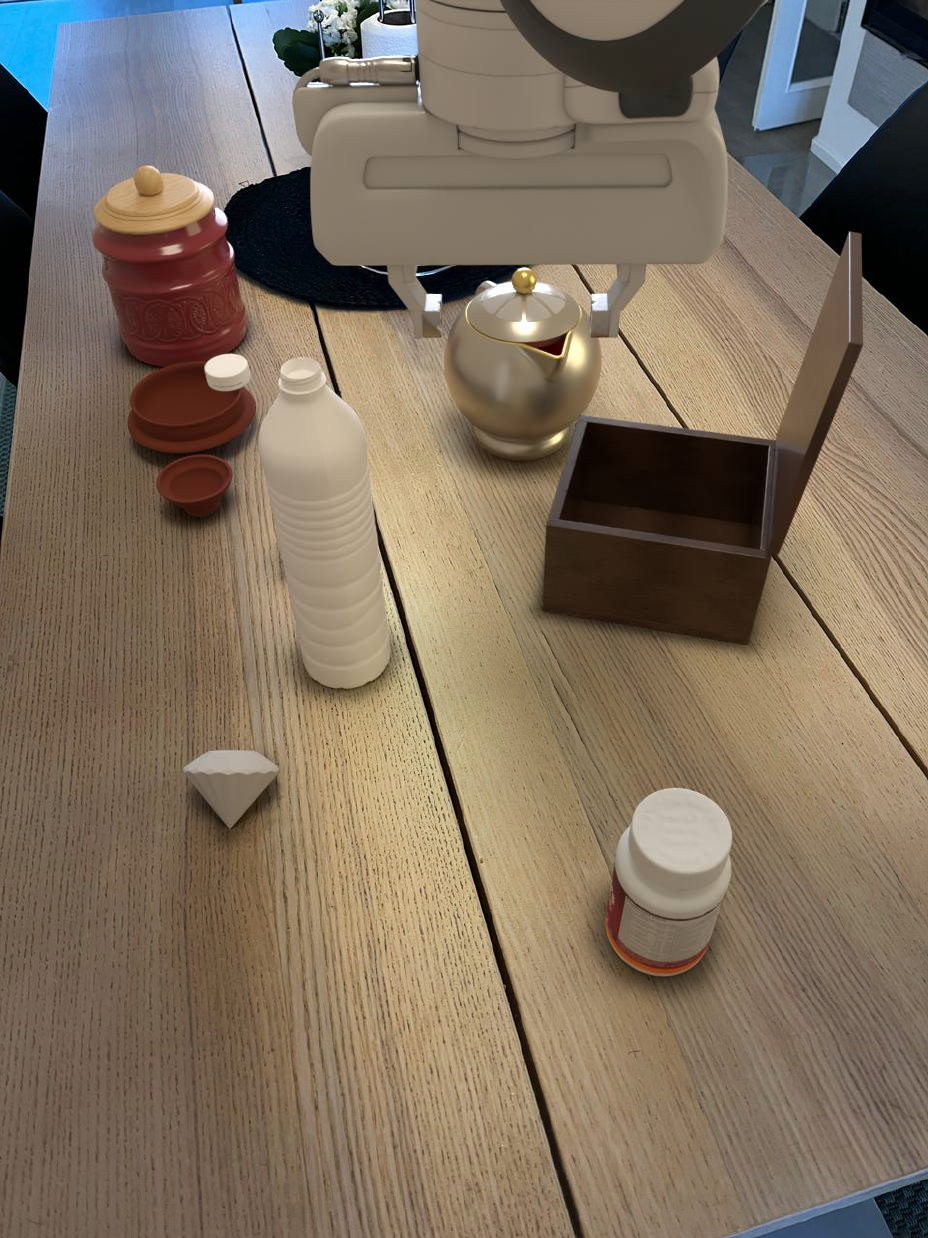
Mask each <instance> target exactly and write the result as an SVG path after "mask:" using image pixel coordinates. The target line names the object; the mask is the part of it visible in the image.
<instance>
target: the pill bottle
mask: <svg viewBox="0 0 928 1238" xmlns="http://www.w3.org/2000/svg"><path fill="white" fill-rule="evenodd" d="M732 844H733V832H732V826H731V824H730V821H729V819H728V817H727V815H726V813H725V812H724V811H723V810H722V808H721V807H720V806H719V805H718V804H717V803H716V802H715V801H714V800H712V799H711V798H709V797H708V796H707V795H704V794H703V793H701V792H698V791H696V790H692V789H689V788H682V787H671V788H670V787H669V788H664V789H660V790H657V791H655V792H653V793H649V795H647V796H646V797H645V798H643V799H642V800H641V801H640V803H639V804H638V805H637V807H636V808H635V811H634V812H633V814H632V819H631V823H630V824H629V826H627V828H626V829H625V830H624V832H623V833H622V835H621V836H620V839H619V841H618V844H617V846H616V851H615V855H614V861H613V862H614V864H613V871H612V876H611V880H610V881H611V883H610V887H609V892H608V899H607V903H606V904H607V905H606V910H605V911H606V912H605V918H604V919H605V920H604V921H605V922H604V923H605V930H606V936H607V938H608V942H609V943H610V945H611V947H612V948H613V950H614V952H615V953H616V954H617V956H618V957H619V958H620V959H621V960H622V961H623V962H625V963H626V964H627V965H628V966H630V967H631V968H633V969H635V970H636V971H639V972H640V973H644V974H647V975H650V976H653V977H672V976H676V975H679V974H682V973H685V972H687V971H689V970H690V969H692V968H694V967H695V965H697V964H698V963H699V962H700V961H701V959H702V958H703V957H704V955H705V954H706V952H707V950H708V947H709V944H710V942H711V938H712V935H713V933H714V930H715V926H716V924H717V922H718V921H717V920H718V917H719V915H720V912H721V909H722V906H723V904H724V900H725V897H726V895H727V894H728V893H727V892H728V889H729V886H730V883H731V878H732V861H731V857H730V852H731V850H732V849H731V848H732V846H733V845H732Z"/></svg>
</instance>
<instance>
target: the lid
mask: <svg viewBox="0 0 928 1238" xmlns="http://www.w3.org/2000/svg"><path fill="white" fill-rule="evenodd" d="M862 251H863V250H862V233H860V232H855V231H848V234H847V236H846V239H845V241H844V246H843V248H842V251H841V252H840V253H841V254H840V257H839V259H838V261H837V265H836V267H835V270H834V273H833V275H832V279H831V281H830V284H829V286H828V289H827V292H826V295H825V298H824V300H823V304H822V306H821V310H820V312H819V314H818V318H817V320H816V323H815V326H814V328H813V331H812V335H811V337H810V340H809V341H808V345H807V347H806V350H805V354H804V355H803V356H804V357H803V359H802V362H801V365H800V367H799V371H798V373H797V376H796V379H795V382H794V384H793V387H792V390H791V392H790V395H789V399H788V401H787V403H786V407H785V410H784V412H783V415H782V417H781V420H780V423H779V426H778V429H777V431H776V435H775V437H776V438H775V440H776V448H775V460H774V473H773V485H772V498H771V511H770V523H769V536H768V549H767V552H768V553H772V555H779V554H780V553H781V550H782V548H783V545H784V543H785V540H786V538H787V536H788V533H789V531H790V528H791V525H792V523H793V521H794V518H795V515H796V513H797V511H798V508H799V505H800V503H801V501H802V498H803V496H804V493H805V490H806V488H807V486H808V483H809V481H810V478H811V476H812V474H813V470H814V468H815V466H816V463H817V461H818V458H819V455H820V453H821V451H822V449H823V446H824V445H825V444H824V443H825V441H826V439H827V437H828V433H829V432H830V429H831V426H832V424H833V421H834V419H835V416H836V414H837V412H838V410H839V406H840V404H841V402H842V399H843V397H844V395H845V392H846V390H847V386H848V384H849V382H850V379H851V377H852V374H853V372H854V369H855V368H856V367H855V366H856V364H857V363H858V359H859V357H860V354H861V352H862V349H863V347H864V317H863V316H864V313H863V311H864V307H863V258H862V257H863V256H862V255H863V254H862Z"/></svg>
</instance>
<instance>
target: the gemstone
mask: <svg viewBox="0 0 928 1238" xmlns="http://www.w3.org/2000/svg"><path fill="white" fill-rule="evenodd" d="M182 772H183V774H184V775H185V776H186V777H187V778H188V780H189V781H190V782H191V784H193V786H194V787H195V788H196V790H197V791H198V792H199V794H200V795H201V796H202V797H203V798H204V800H205V801H206V802H207V803H208V804H209V806H210V807H211V808H212V809H213V811H214V812H215V813H216V815H217V816H218V817H219V818H220V819H221V821H222V822H223V823H224V824H225V825H226V827H227V828H228V829H229V830H231V829H232V828H233V827H234V826H235V824H236V823H237V822H238V821H239V820H240V818H241V817H242V816H243V815H244V814H245V812H247V811H248V809H249V808H250V807H251V806H252V804H253V803H254V802H255V801H256V800H257V799H258V797H259V796H260V795H261V794H262V793H263V791H264V790H265V789H266V788H267V787H268V786H269V785H270V783H271V782H272V781H273V780H274V779H275V778H276V777H277V775H279V773H280V768H279V766H278V765H276V764H275V763H274V762H272V761H271V760H269V759H268V758H266V756H264V755H263V754H260V753H259V752H258V751H256V750H246V749H245V750H244V749H242V750H241V749H240V750H239V749H225V750H224V749H221V750H208V751H206V752H205V753H202V754H201V755H200V756H198V757H197V758H195V759H194V760H192V761H190V762H189V763H188V764H187V765H186V766H184V768H182Z"/></svg>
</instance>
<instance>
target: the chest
mask: <svg viewBox="0 0 928 1238" xmlns="http://www.w3.org/2000/svg"><path fill="white" fill-rule="evenodd" d="M576 421H577V422H576V425H575V429H574V431H573V434H572V438H571V441H570V445H569V448H568V451H567V454H566V458H565V461H564V464H563V467H562V470H561V473H560V477H559V481H558V485H557V487H556V491H555V494H554V497H553V501H552V504H551V508H550V510H549V514H548V517H547V520H546V524H545V539H544V560H543V563H544V564H543V582H542V602H541V603H542V605H541V606H542V607H541V610H542V612H549V613H555V614H561V615H567V616H573V617H579V618H586V619H591V620H597V621H604V622H608V623H609V622H610V623H616V624H621V625H627V626H634V627H638V628H639V627H640V628H645V629H651V630H656V631H657V630H658V631H663V632H669V633H675V634H680V635H681V634H682V635H687V636H692V637H699V638H706V639H711V640H716V641H717V640H718V641H724V642H728V643H735V644H742V645H749V643H750V640H751V636H752V633H753V629H754V625H755V622H756V618H757V614H758V611H759V607H760V604H761V600H762V595H763V592H764V588H765V584H766V581H767V577H768V572H769V569H770V566H771V562H772V557H773V553H768V552H767V549H768V536H769V523H770V511H771V498H772V485H773V473H774V460H775V448H776V439H769V438H763V437H762V438H761V437H753V436H747V435H738V434H731V433H724V432H723V433H722V432H714V431H709V430H707V431H706V430H700V429H692V428H684V427H675V426H670V425H662V424H661V425H660V424H654V423H644V422H638V421H631V420H621V419H615V418H606V417H600V416H592V415H584V414H581V415H579V418H578V419H577V420H576Z"/></svg>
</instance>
